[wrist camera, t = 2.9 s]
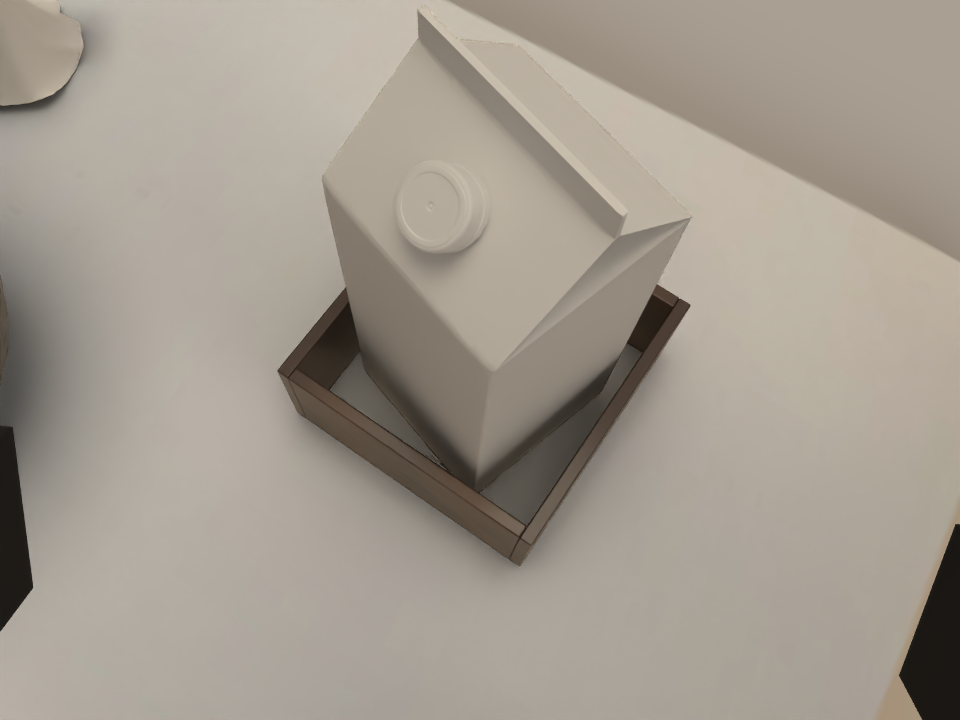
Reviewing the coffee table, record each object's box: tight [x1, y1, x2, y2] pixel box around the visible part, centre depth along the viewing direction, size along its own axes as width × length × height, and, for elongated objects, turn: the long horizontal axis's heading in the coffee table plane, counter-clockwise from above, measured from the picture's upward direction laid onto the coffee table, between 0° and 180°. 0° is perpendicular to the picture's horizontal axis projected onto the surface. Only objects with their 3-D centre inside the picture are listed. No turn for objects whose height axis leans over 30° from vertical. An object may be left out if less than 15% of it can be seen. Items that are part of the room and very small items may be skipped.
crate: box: [278, 285, 690, 566], centre depth 36 cm, size 11×11×5 cm
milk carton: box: [322, 5, 692, 492], centre depth 30 cm, size 7×7×19 cm
